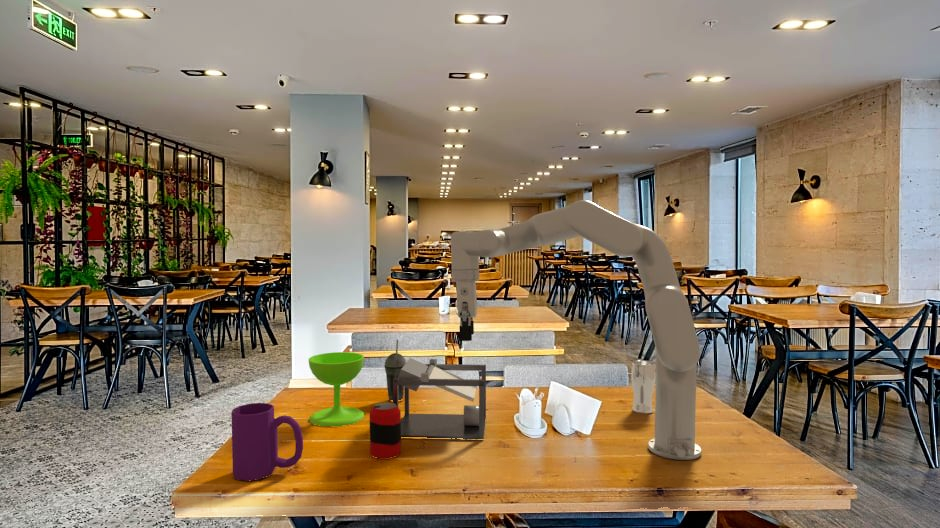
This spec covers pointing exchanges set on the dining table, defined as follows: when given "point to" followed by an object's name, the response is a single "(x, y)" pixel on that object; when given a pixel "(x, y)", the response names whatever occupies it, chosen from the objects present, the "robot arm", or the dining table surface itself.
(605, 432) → the dining table surface
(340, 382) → the wineglass
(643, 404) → the beer glass
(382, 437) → the soda can
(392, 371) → the beverage cup
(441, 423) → the frame
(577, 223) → the robot arm
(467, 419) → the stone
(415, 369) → the trapdoor
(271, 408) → the mug
